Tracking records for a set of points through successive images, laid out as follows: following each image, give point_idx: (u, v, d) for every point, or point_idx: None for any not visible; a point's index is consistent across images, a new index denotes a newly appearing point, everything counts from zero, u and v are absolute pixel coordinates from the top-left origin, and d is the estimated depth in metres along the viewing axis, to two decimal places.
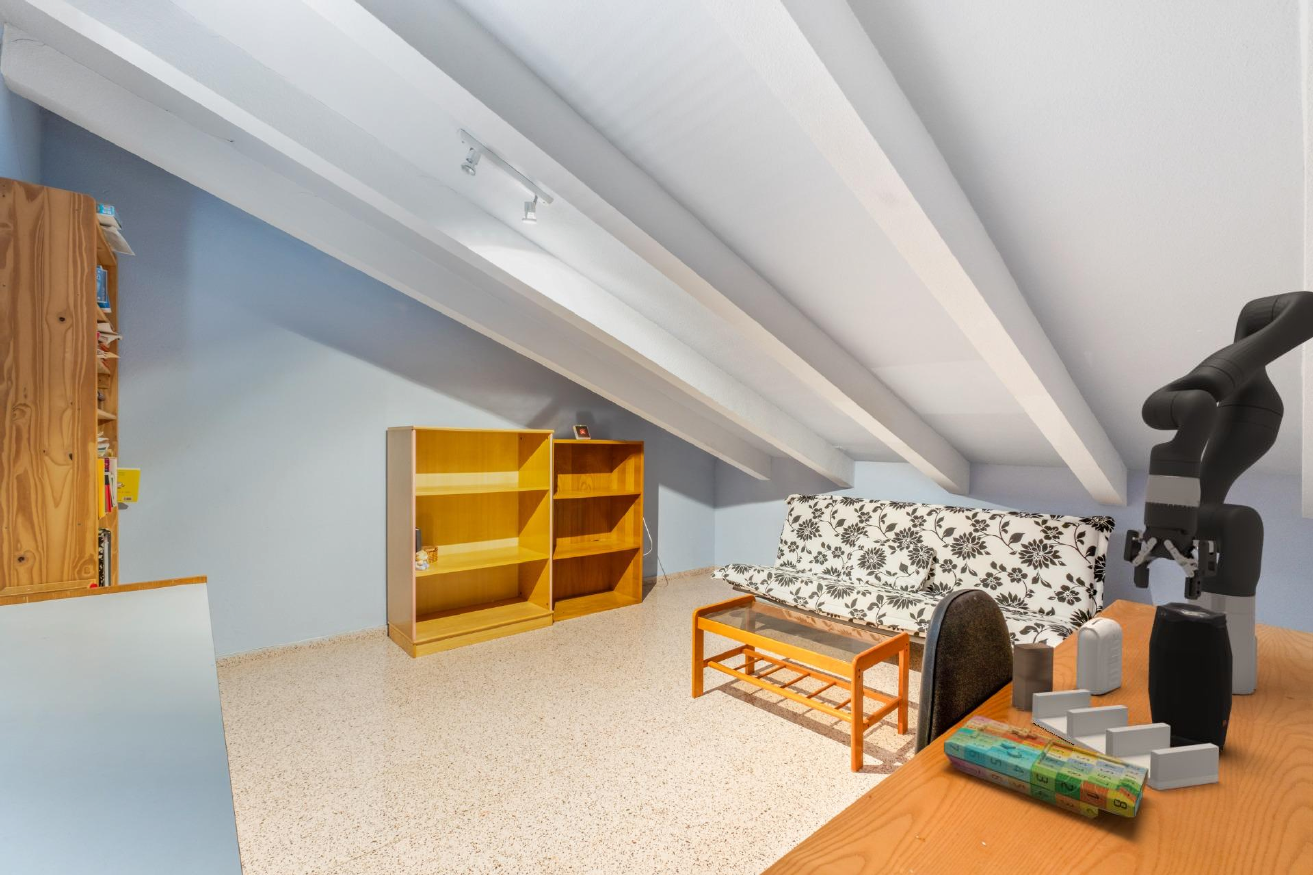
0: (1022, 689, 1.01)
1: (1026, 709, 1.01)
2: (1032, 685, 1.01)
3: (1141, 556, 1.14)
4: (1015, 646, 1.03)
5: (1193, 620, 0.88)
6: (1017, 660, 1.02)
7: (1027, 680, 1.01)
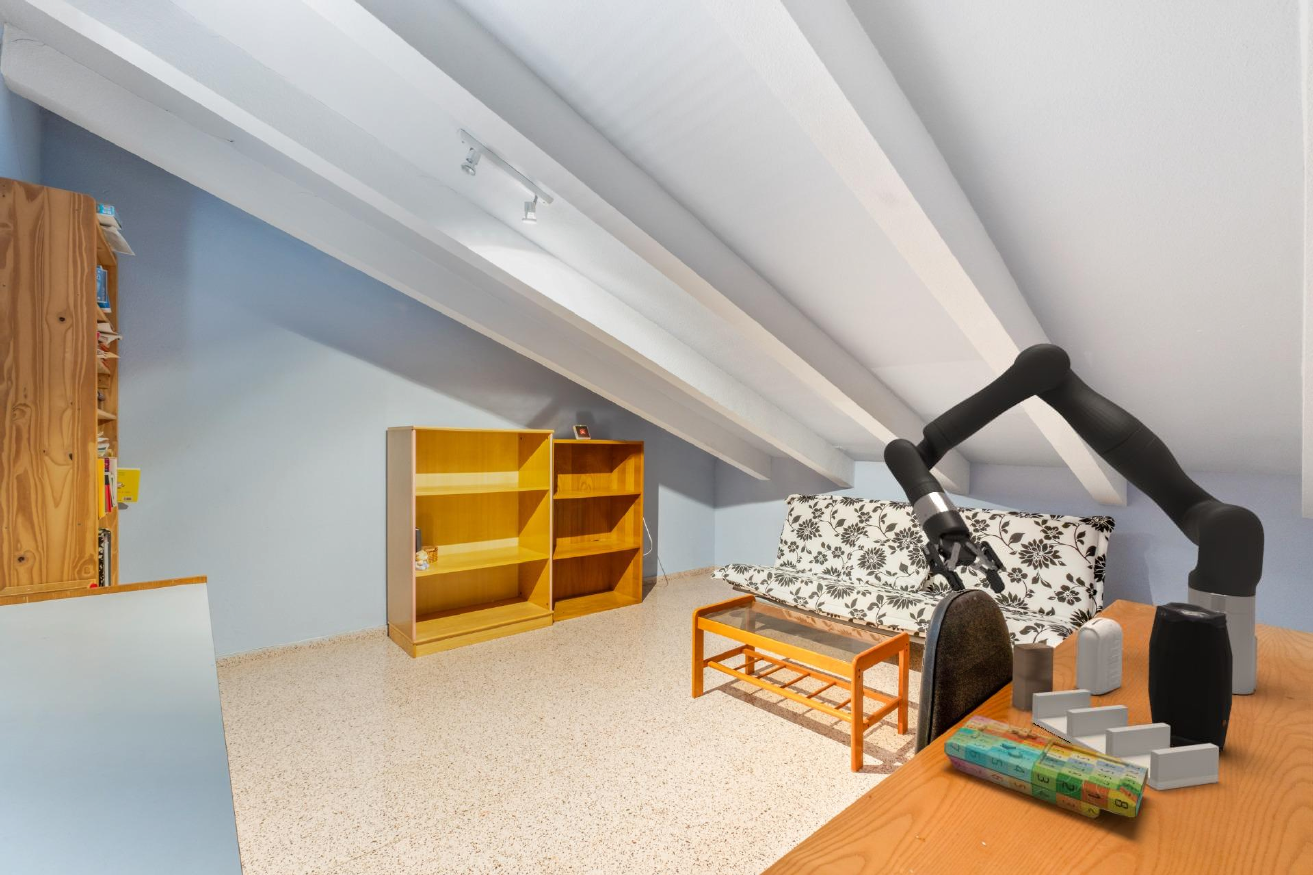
0: (1022, 689, 1.01)
1: (1026, 709, 1.01)
2: (1032, 685, 1.01)
3: None
4: (1015, 646, 1.03)
5: (1193, 620, 0.88)
6: (1017, 660, 1.02)
7: (1027, 680, 1.01)
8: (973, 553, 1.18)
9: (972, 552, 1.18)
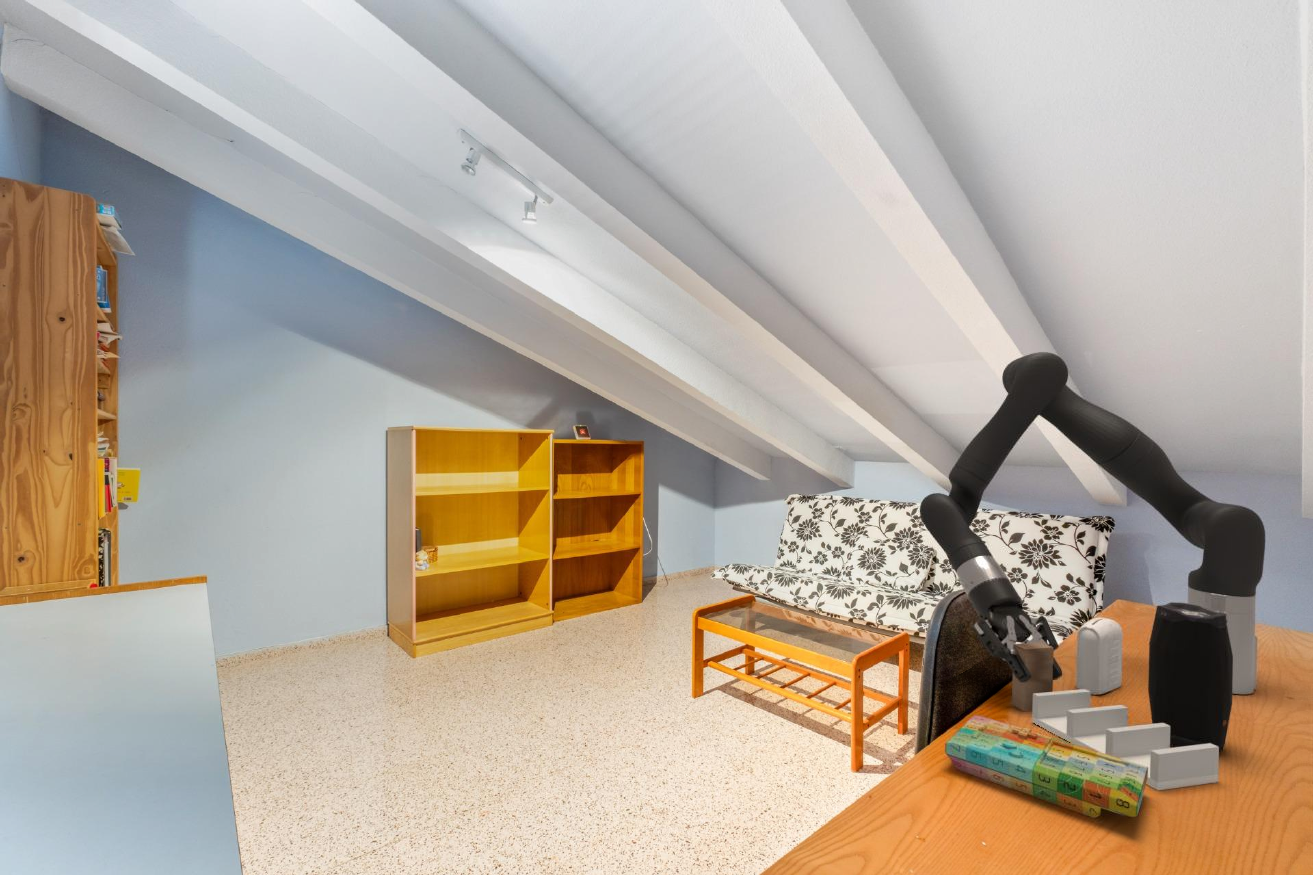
0: (1022, 689, 1.01)
1: (1026, 709, 1.01)
2: (1032, 685, 1.01)
3: None
4: (1015, 646, 1.03)
5: (1193, 620, 0.88)
6: None
7: None
8: (1026, 628, 1.06)
9: (1024, 627, 1.06)
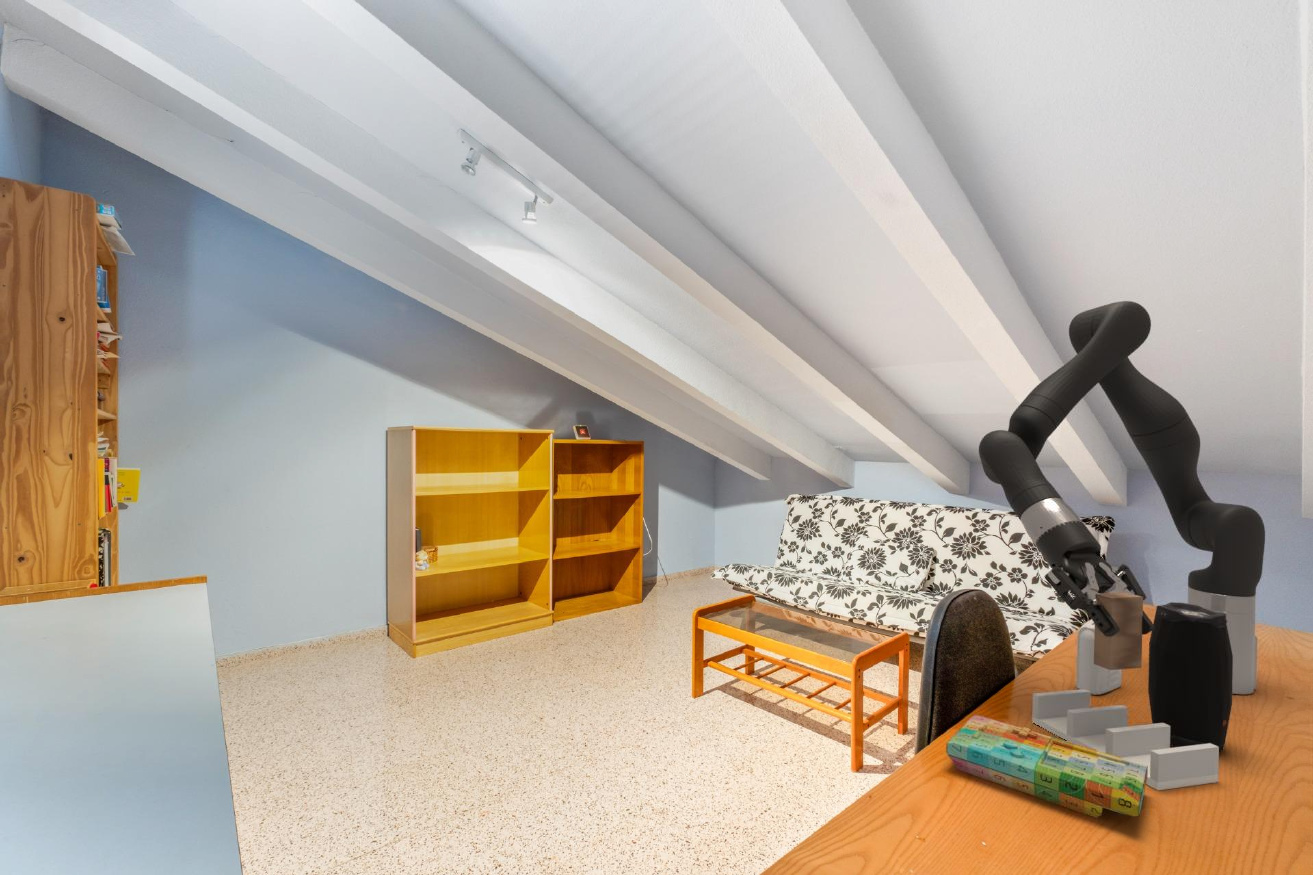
0: (1108, 645, 0.87)
1: (1112, 667, 0.87)
2: (1119, 640, 0.87)
3: None
4: (1098, 596, 0.89)
5: (1193, 620, 0.88)
6: None
7: None
8: (1108, 577, 0.92)
9: (1106, 576, 0.92)
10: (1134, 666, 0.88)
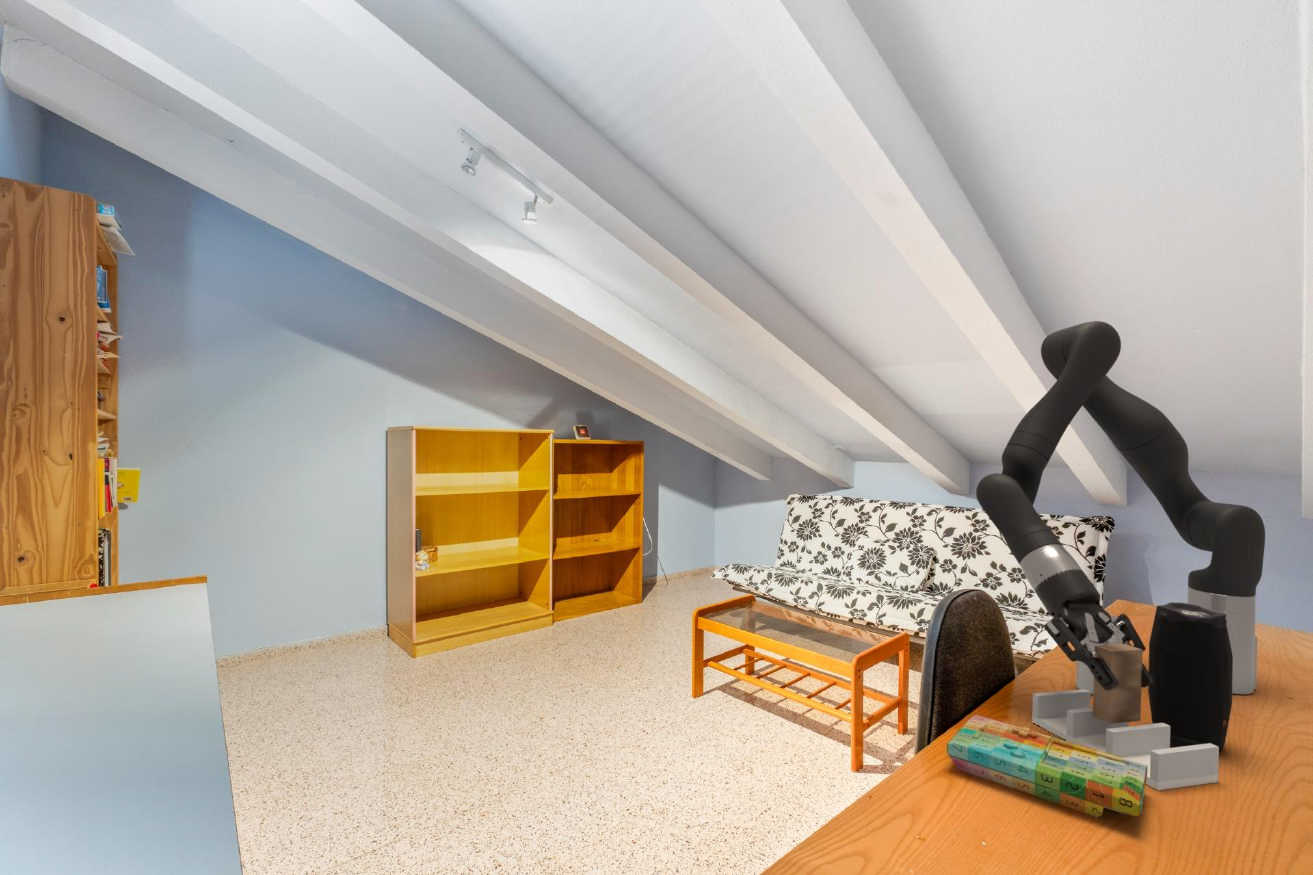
0: (1107, 698, 0.87)
1: (1111, 721, 0.87)
2: (1119, 693, 0.87)
3: None
4: (1097, 648, 0.89)
5: (1193, 620, 0.88)
6: None
7: None
8: (1107, 628, 0.92)
9: (1105, 626, 0.92)
10: (1133, 719, 0.88)
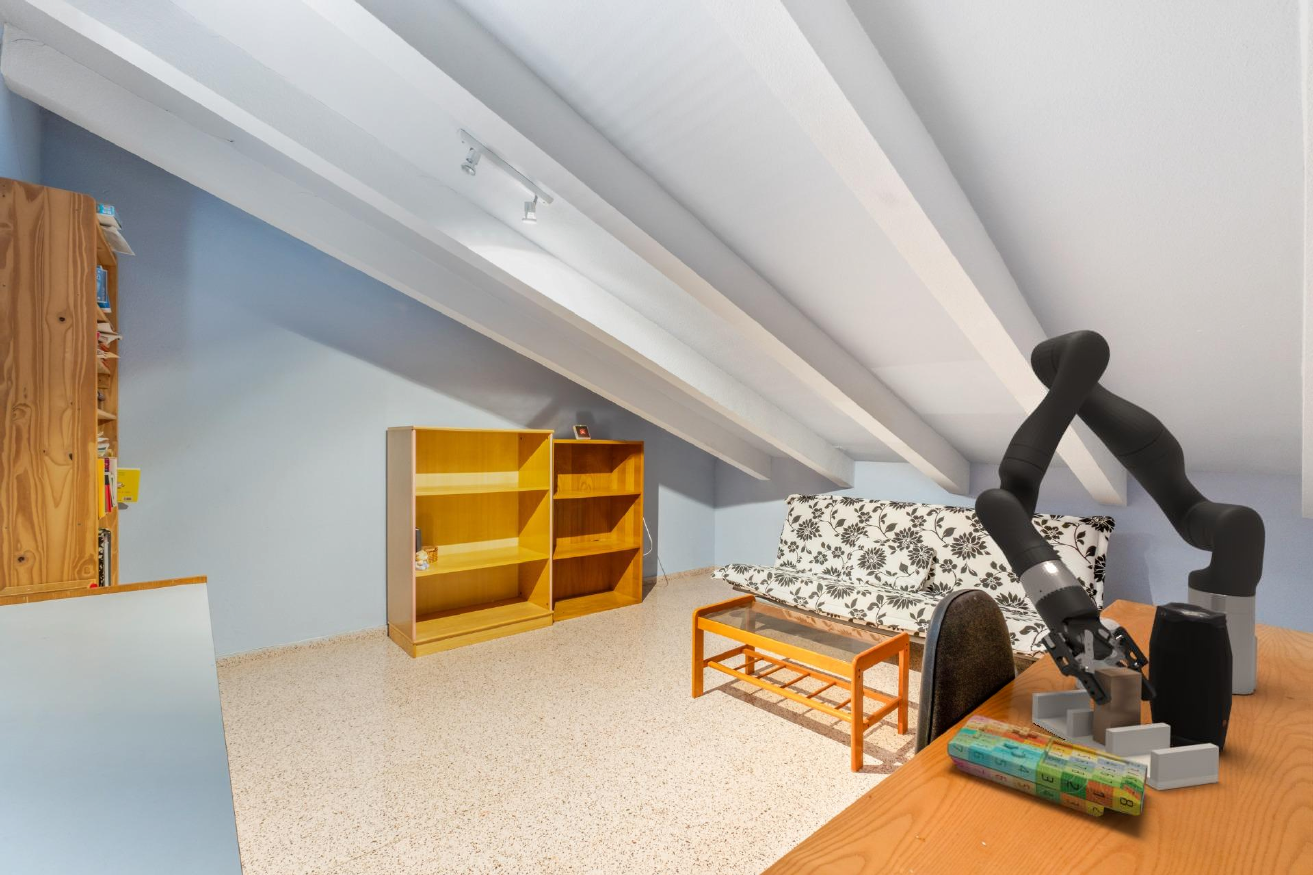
0: (1107, 722, 0.87)
1: None
2: (1118, 718, 0.87)
3: None
4: (1097, 672, 0.89)
5: (1193, 620, 0.88)
6: None
7: (1113, 712, 0.87)
8: (1108, 644, 0.92)
9: (1107, 643, 0.92)
10: None
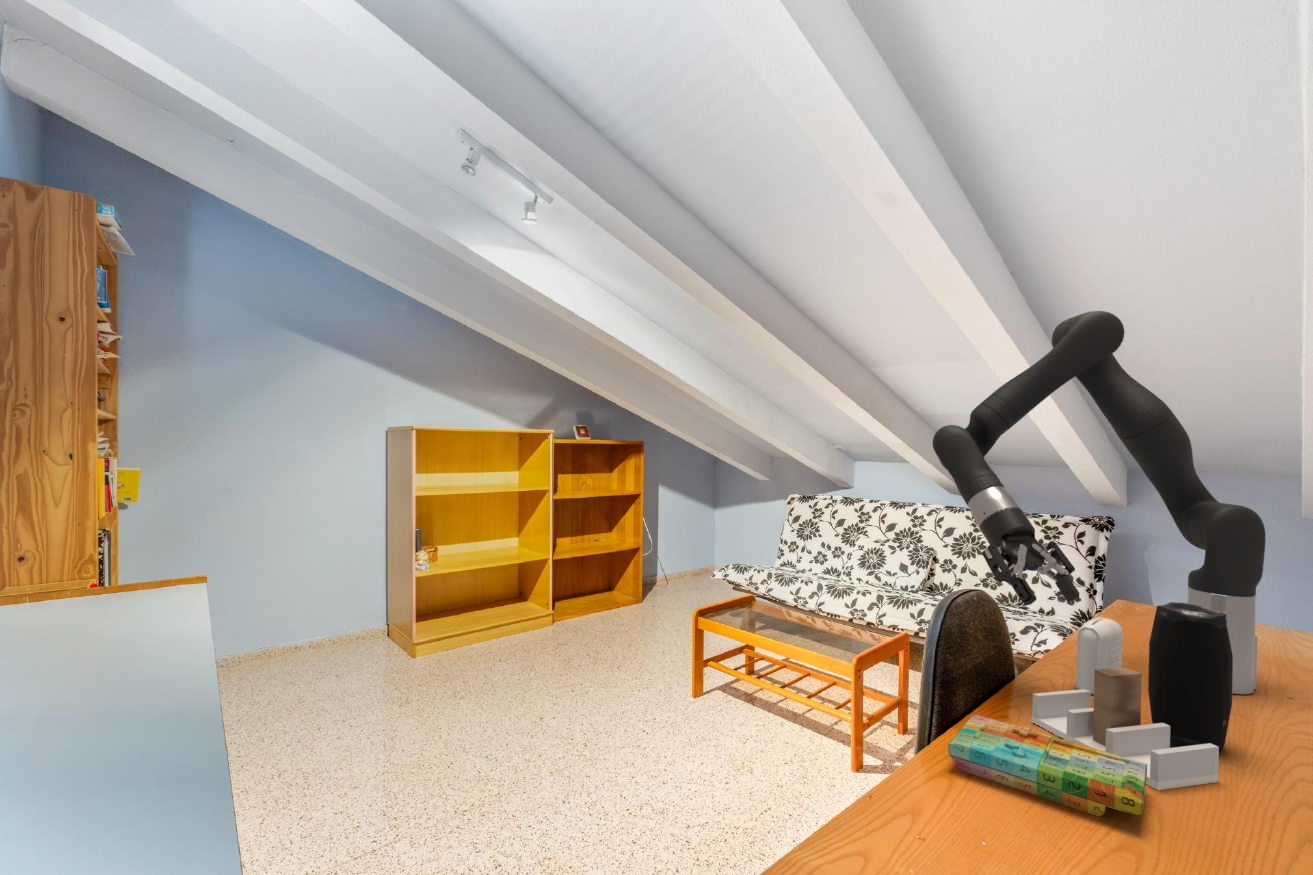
0: (1107, 722, 0.87)
1: None
2: (1118, 718, 0.87)
3: None
4: (1097, 672, 0.89)
5: (1193, 620, 0.88)
6: (1099, 688, 0.88)
7: (1113, 712, 0.87)
8: (1041, 556, 1.05)
9: (1039, 555, 1.05)
10: None
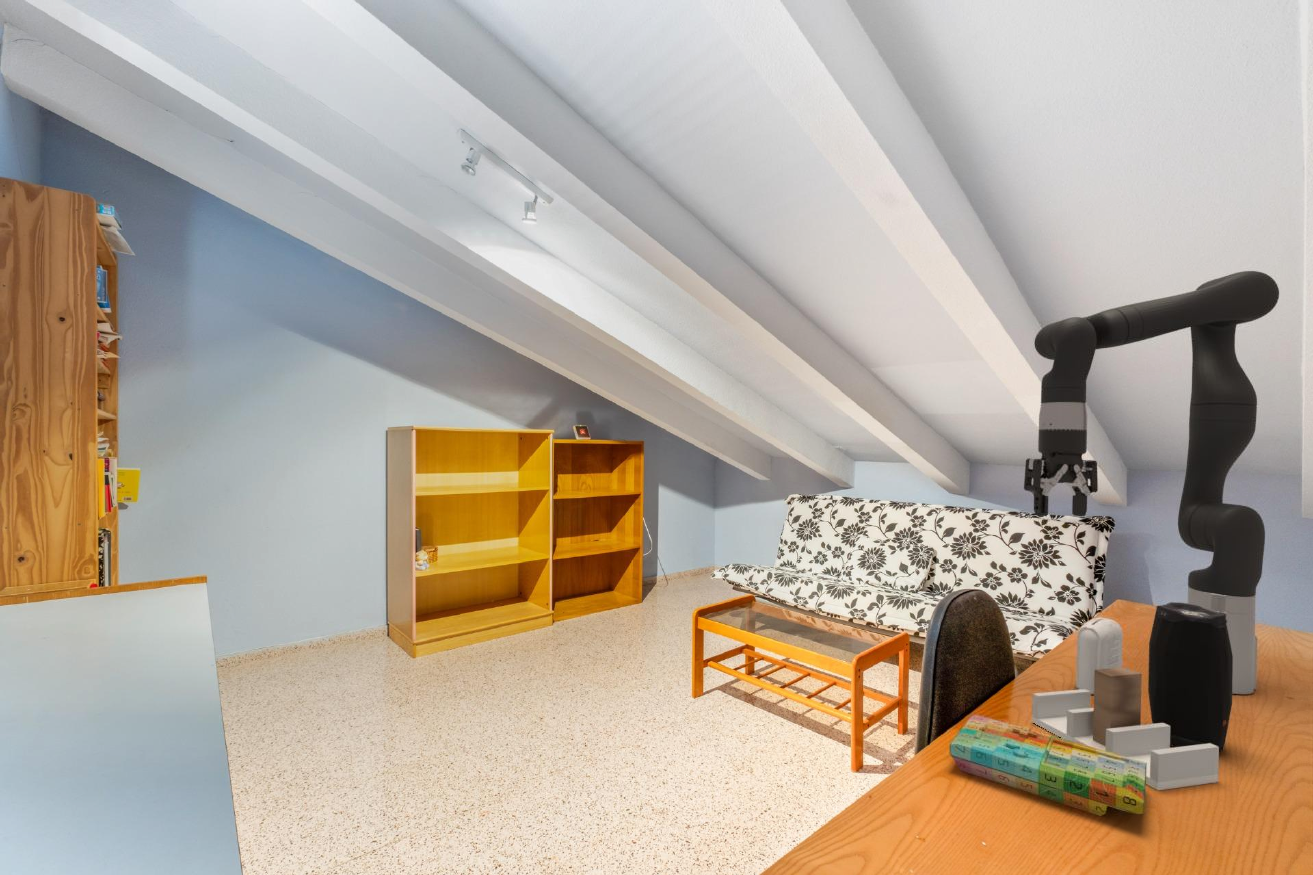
0: (1107, 722, 0.87)
1: None
2: (1118, 718, 0.87)
3: None
4: (1097, 672, 0.89)
5: (1193, 620, 0.88)
6: (1099, 688, 0.88)
7: (1113, 712, 0.87)
8: (1075, 476, 1.15)
9: (1074, 475, 1.15)
10: None
